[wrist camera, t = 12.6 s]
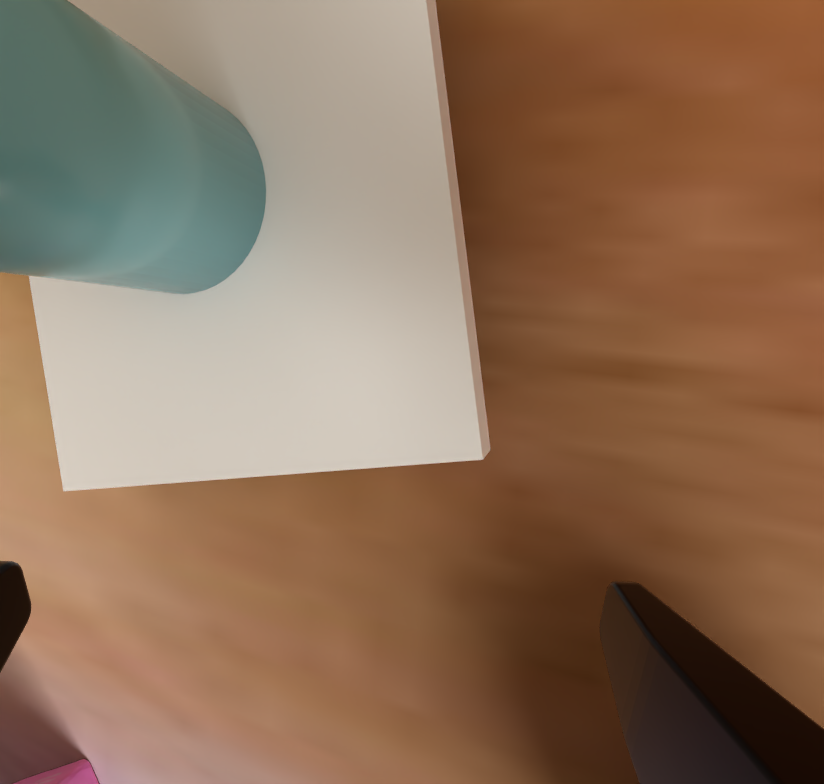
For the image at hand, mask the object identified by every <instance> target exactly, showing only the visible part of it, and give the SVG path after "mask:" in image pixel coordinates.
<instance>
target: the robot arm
mask: <svg viewBox="0 0 824 784" xmlns="http://www.w3.org/2000/svg"><path fill="white" fill-rule="evenodd" d="M30 613H31V601H30V597H29V593H28V590H27V586H26V582H25V579H24V575H23V571H22V569H21V567H20V566H19V564H18V563H16V562H12V561H0V672H1V670H2V668H3V667H4V665H5V663H6V661H7V659H8V657H9V655H10V654H11V652H12V650H13V648H14V646H15V644H16V642H17V641H18V639H19V637H20V635H21V633H22V631H23V629H24V628H25V626H26V624H27V622H28V619H29V617H30ZM600 637H601V642H602V646H603V651H604V655H605V659H606V663H607V668H608V672H609V676H610V680H611V685H612V689H613V693H614V697H615V701H616V706H617V710H618V714H619V718H620V723H621V726H622V730H623V734H624V738H625V741H626V745H627V748H628V751H629V754H630V757H631V760H632V763H633V766H634V769H635V771H636V774H637V777H638V780H639V783H640V784H824V729H823V728H822V727H821V726H819V725H818V724H817V723H815V722H814V721H813V720H812V719H810V718H809V717H808V716H807V715H805V714H804V713H803V712H802V711H800V710H799V709H798V708H796V707H795V706H794V705H793V704H791V703H790V702H789V701H788V700H786V699H785V698H784V697H782V696H781V695H780V694H779V693H777V692H776V691H775V690H774V689H772V688H771V687H770V686H769V685H767V684H766V683H765V682H763V681H762V680H761V679H760V678H758V677H757V676H756V675H755V674H753V673H752V672H751V671H750V670H748V669H747V668H746V667H744V666H743V665H742V664H741V663H739V662H738V661H737V660H736V659H734V658H733V657H732V656H730V655H729V654H728V653H727V652H725V651H724V650H723V649H722V648H720V647H719V646H718V645H717V644H715V643H714V642H713V641H711V640H710V639H709V638H708V637H706V636H705V635H704V634H703V633H701V632H700V631H699V630H698V629H696V628H695V627H694V626H692V625H691V624H690V623H689V622H687V621H686V620H685V619H684V618H682V617H681V616H680V615H679V614H677V613H676V612H675V611H673V610H672V609H671V608H670V607H668V606H667V605H666V604H665V603H663V602H662V601H661V600H659V599H658V598H657V597H656V596H654V595H653V594H652V593H651V592H649V591H648V590H647V589H646V588H644V587H643V586H642V585H640V584H639V583H636V582H618V581H615V582H612V583H610V584H609V586H608V588H607V592H606V597H605V601H604V606H603V611H602V615H601V620H600Z"/></svg>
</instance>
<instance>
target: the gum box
mask: <svg viewBox="0 0 824 784" xmlns="http://www.w3.org/2000/svg"><path fill="white" fill-rule="evenodd" d="M13 784H99V783H98V780H97V778H96V776H95V773H94V771H93V768H92V766H91V764H90V762H89V761H87V760H85V759H82V760H79V761H76V762H73V763H71V764H68V765H65V766H61V767H59V768H56V769H53V770H50V771H46V772H43V773H39V774H37V775H35V776H32V777H28V778H25V779H23V780H20V781H18V782H16V783H13Z"/></svg>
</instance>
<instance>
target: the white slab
mask: <svg viewBox="0 0 824 784" xmlns="http://www.w3.org/2000/svg"><path fill="white" fill-rule="evenodd" d="M68 1H69V2H71V3H72V4H73V5H75V6H76V7H78V8H79V9H81V10H82V11H84V12H85V13H87V14H88V15H90V16H91V17H92V18H94V19H95V20H97V21H98V22H100V23H101V24H103V25H104V26H106V27H107V28H108V29H110V30H111V31H113V32H114V33H116V34H117V35H119V36H120V37H122V38H123V39H125V40H126V41H127V42H129V43H130V44H132V45H133V46H135V47H136V48H138V49H139V50H141V51H142V52H144V53H145V54H146V55H148V56H149V57H151V58H152V59H154V60H155V61H157V62H158V63H160V64H161V65H163V66H164V67H165V68H167V69H168V70H170V71H171V72H173V73H174V74H176V75H177V76H179V77H180V78H181V79H183V80H184V81H186V82H187V83H189V84H190V85H192V86H193V87H195V88H196V89H198V90H199V91H200V92H202V93H203V94H205V95H206V96H208V97H209V98H211V99H212V100H214V101H215V102H217V103H218V104H219V105H221V106H222V107H224V108H225V109H227V110H228V111H230V112H231V113H232V114H233V115H234V116H235V117H236V118H237V119H238V120H239V121H240V122H241V123H242V124H243V125H244V127H245V128H246V129H247V131H248V132H249V134H250V135H251V137H252V138H253V140H254V143H255V145H256V147H257V149H258V151H259V154H260V157H261V160H262V163H263V168H264V173H265V182H266V205H265V212H264V218H263V221H262V225H261V229H260V232H259V234H258V237H257V239H256V242H255V244H254V246H253V247H252V249H251V251H250V253H249V254H248V256H247V257H246V259H245V260H244V261H243V263H242V264H241V265H240V266H239V267H238V268H237V270H236V271H235V272H234V273H232V274H231V275H230V276H229V277H228V278H226V279H225V280H224V281H222V282H221V283H219V284H217V285H216V286H214V287H211V288H209V289H207V290H204V291H200V292H197V293H191V294H171V293H163V292H155V291H147V290H139V289H131V288H123V287H115V286H107V285H99V284H91V283H83V282H75V281H67V280H59V279H51V278H43V277H35V276H29V280H30V286H31V292H32V299H33V305H34V311H35V317H36V323H37V330H38V336H39V342H40V348H41V355H42V361H43V367H44V373H45V379H46V386H47V392H48V398H49V404H50V411H51V417H52V423H53V429H54V435H55V442H56V448H57V454H58V460H59V466H60V473H61V479H62V485H63V491H74V490H87V489H101V488H114V487H127V486H140V485H154V484H167V483H180V482H193V481H207V480H220V479H233V478H246V477H260V476H273V475H286V474H299V473H312V472H326V471H339V470H352V469H365V468H379V467H392V466H405V465H418V464H432V463H445V462H458V461H471V460H483V459H484V458H485V456H486V455H487V454H488V453H489V451H490V450H491V448H490V440H489V432H488V424H487V416H486V408H485V400H484V391H483V383H482V375H481V367H480V359H479V351H478V343H477V334H476V326H475V318H474V310H473V302H472V294H471V286H470V277H469V269H468V261H467V253H466V245H465V237H464V229H463V220H462V212H461V204H460V196H459V188H458V180H457V172H456V163H455V155H454V147H453V139H452V131H451V123H450V115H449V106H448V98H447V90H446V82H445V74H444V66H443V58H442V49H441V41H440V33H439V25H438V17H437V9H436V1H435V0H68Z"/></svg>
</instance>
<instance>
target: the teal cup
mask: <svg viewBox="0 0 824 784" xmlns="http://www.w3.org/2000/svg"><path fill="white" fill-rule="evenodd" d="M265 205H266V182H265V173H264V168H263V163H262V160H261V157H260V154H259V151H258V149H257V147H256V145H255V143H254V140H253V138H252V137H251V135H250V134H249V132H248V131H247V129H246V128H245V127H244V125H243V124H242V123H241V122H240V121H239V120H238V119H237V118H236V117H235V116H234V115H233V114H232V113H231V112H230V111H228V110H227V109H225V108H224V107H222V106H221V105H219V104H218V103H217V102H215V101H214V100H212V99H211V98H209V97H208V96H206V95H205V94H203V93H202V92H200V91H199V90H198V89H196V88H195V87H193V86H192V85H190V84H189V83H187V82H186V81H184V80H183V79H181V78H180V77H179V76H177V75H176V74H174V73H173V72H171V71H170V70H168V69H167V68H165V67H164V66H163V65H161V64H160V63H158V62H157V61H155V60H154V59H152V58H151V57H149V56H148V55H146V54H145V53H144V52H142V51H141V50H139V49H138V48H136V47H135V46H133V45H132V44H130V43H129V42H127V41H126V40H125V39H123V38H122V37H120V36H119V35H117V34H116V33H114V32H113V31H111V30H110V29H108V28H107V27H106V26H104V25H103V24H101V23H100V22H98V21H97V20H95V19H94V18H92V17H91V16H90V15H88V14H87V13H85V12H84V11H82V10H81V9H79V8H78V7H76V6H75V5H73V4H72V3H71V2H69V1H68V0H0V272H3V273H11V274H19V275H27V276H35V277H43V278H51V279H59V280H67V281H75V282H83V283H91V284H99V285H107V286H115V287H123V288H131V289H139V290H147V291H155V292H163V293H171V294H191V293H197V292H200V291H204V290H207V289H209V288H211V287H214V286H216V285H217V284H219V283H221V282H222V281H224V280H225V279H226V278H228V277H229V276H230V275H231V274H232V273H234V272H235V271H236V270H237V268H238V267H239V266H240V265H241V264H242V263H243V261H244V260H245V259H246V257H247V256H248V254H249V253H250V251H251V249H252V247H253V246H254V244H255V242H256V239H257V237H258V234H259V232H260V229H261V225H262V221H263V218H264V212H265Z"/></svg>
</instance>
